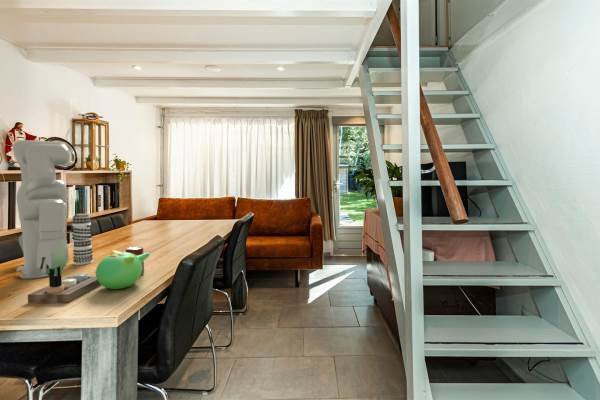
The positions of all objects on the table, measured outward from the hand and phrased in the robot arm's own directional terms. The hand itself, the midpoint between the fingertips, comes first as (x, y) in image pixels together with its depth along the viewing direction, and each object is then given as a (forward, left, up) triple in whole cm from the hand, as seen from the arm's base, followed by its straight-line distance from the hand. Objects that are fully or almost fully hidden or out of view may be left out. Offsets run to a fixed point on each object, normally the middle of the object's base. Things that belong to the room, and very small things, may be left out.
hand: (55, 286), depth 124 cm
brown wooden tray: (0, +7, -5) cm, 8 cm away
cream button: (0, +7, -3) cm, 8 cm away
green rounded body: (+17, +13, -5) cm, 22 cm away
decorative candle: (-23, +54, -5) cm, 59 cm away
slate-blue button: (0, +14, -3) cm, 14 cm away
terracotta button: (0, 0, -3) cm, 3 cm away
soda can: (+14, +31, -5) cm, 34 cm away
